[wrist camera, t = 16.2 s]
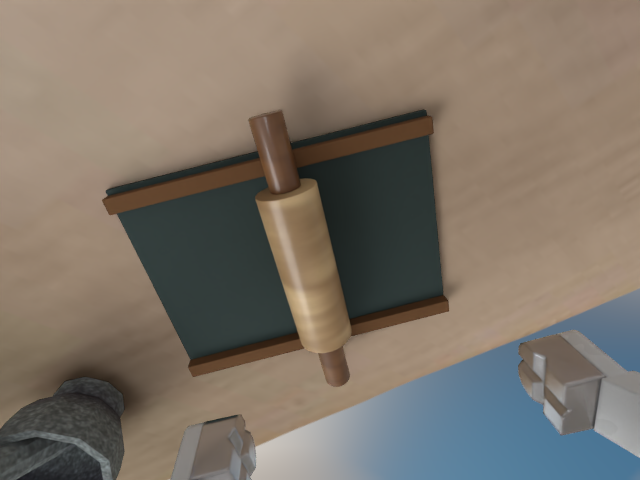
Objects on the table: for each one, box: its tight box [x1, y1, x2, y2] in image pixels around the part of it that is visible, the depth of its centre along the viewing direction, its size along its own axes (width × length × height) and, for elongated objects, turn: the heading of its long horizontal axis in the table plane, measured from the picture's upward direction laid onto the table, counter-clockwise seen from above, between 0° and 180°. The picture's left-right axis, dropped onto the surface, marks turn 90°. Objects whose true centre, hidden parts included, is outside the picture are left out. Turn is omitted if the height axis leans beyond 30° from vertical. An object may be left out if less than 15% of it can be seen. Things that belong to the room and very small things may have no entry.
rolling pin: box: [248, 110, 352, 387], centre depth 27 cm, size 4×23×4 cm, turn 13°
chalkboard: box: [102, 110, 449, 377], centre depth 29 cm, size 24×18×2 cm
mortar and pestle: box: [0, 377, 124, 480], centre depth 27 cm, size 11×9×12 cm
